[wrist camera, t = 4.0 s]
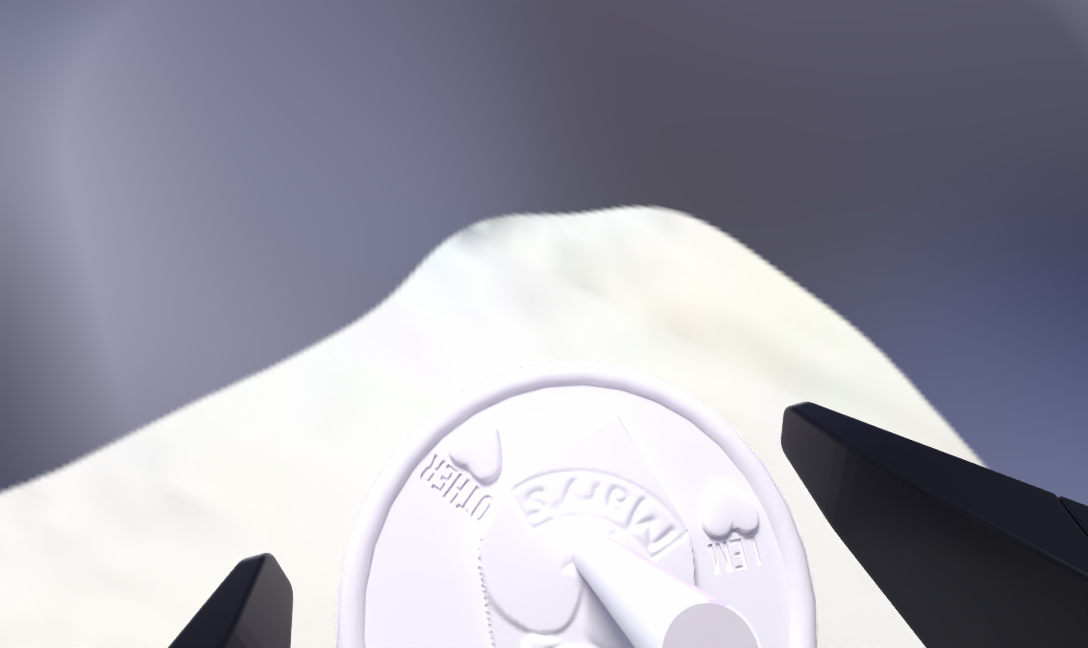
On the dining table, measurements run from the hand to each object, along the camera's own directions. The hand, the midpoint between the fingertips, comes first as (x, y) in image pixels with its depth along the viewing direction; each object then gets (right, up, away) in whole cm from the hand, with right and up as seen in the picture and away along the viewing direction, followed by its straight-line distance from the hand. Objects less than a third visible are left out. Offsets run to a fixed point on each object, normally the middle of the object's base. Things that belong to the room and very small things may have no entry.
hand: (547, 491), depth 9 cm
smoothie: (0, -4, +7) cm, 8 cm away
